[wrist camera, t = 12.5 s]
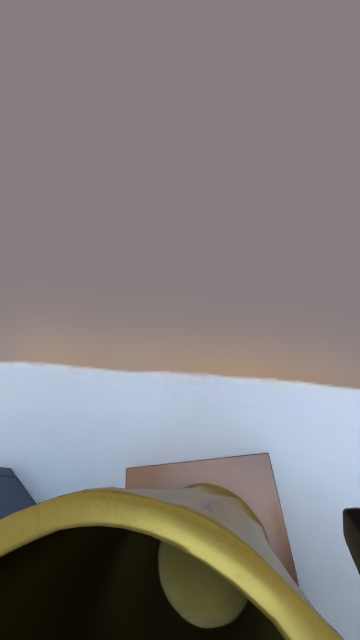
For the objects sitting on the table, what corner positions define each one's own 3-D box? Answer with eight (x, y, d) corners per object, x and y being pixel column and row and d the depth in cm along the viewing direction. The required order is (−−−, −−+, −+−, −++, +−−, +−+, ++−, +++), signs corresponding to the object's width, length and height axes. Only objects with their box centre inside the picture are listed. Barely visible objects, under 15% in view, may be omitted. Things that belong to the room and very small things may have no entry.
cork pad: (316, 669, 11) (319, 674, 11) (124, 679, 12) (122, 684, 12) (267, 453, 16) (268, 452, 15) (127, 468, 16) (125, 468, 16)
